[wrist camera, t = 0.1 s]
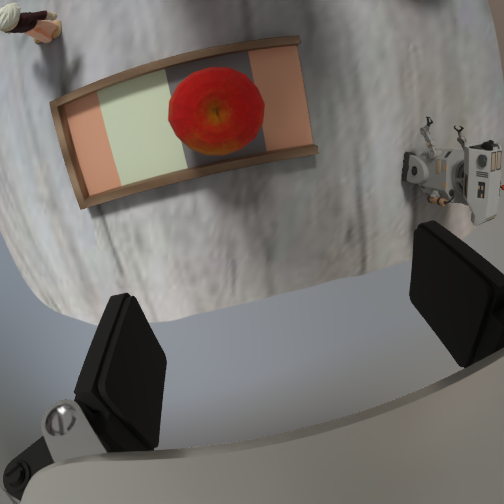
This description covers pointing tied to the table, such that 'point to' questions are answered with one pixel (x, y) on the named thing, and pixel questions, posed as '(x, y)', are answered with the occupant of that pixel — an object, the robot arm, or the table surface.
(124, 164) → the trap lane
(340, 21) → the table surface
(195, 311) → the table surface
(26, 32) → the grandmother figurine
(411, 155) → the figurine
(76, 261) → the table surface
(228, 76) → the apple
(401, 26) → the table surface
